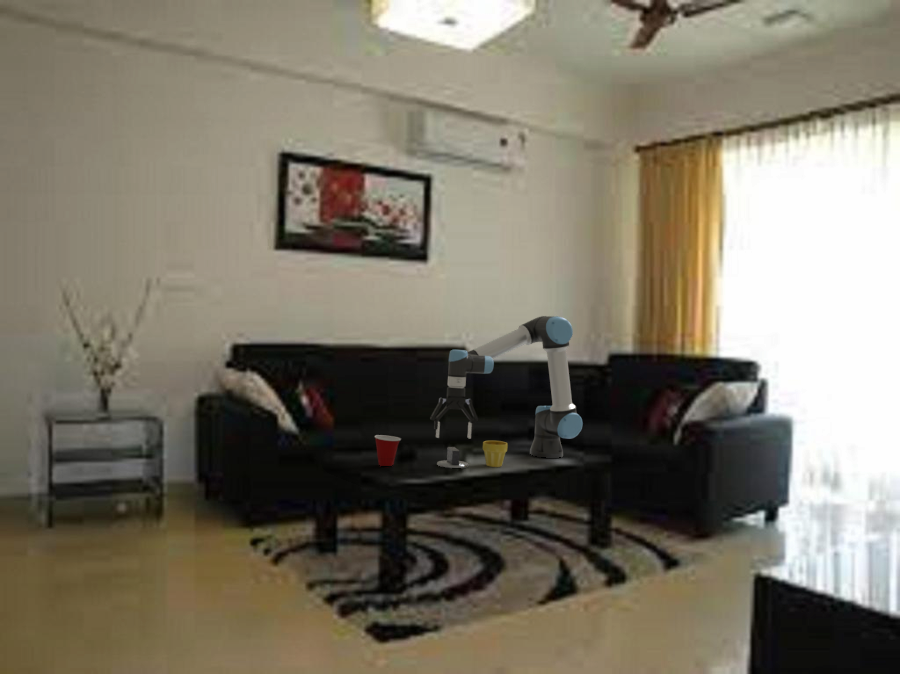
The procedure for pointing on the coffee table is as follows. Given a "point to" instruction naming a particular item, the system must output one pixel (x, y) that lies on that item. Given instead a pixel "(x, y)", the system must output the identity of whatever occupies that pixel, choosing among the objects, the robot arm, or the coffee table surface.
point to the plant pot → (494, 452)
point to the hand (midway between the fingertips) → (453, 437)
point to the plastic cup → (386, 449)
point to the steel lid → (452, 459)
